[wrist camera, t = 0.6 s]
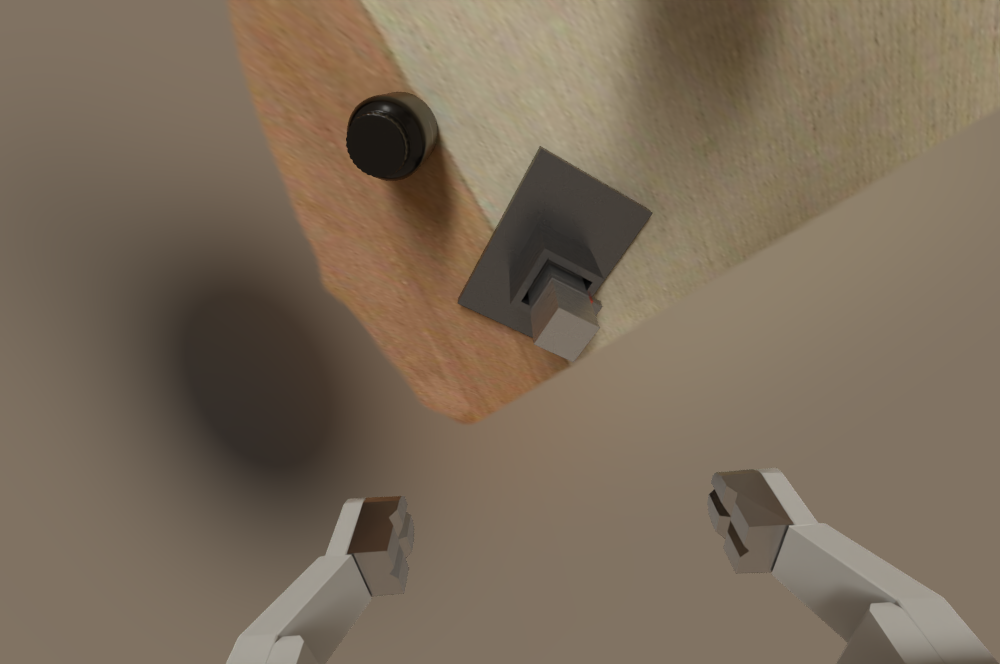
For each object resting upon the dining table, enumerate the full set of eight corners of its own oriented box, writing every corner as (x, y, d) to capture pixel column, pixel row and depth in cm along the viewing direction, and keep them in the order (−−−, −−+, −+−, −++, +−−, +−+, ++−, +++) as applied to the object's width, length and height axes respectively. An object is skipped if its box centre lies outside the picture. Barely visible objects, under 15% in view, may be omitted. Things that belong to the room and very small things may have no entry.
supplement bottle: (451, 142, 45) (436, 166, 35) (397, 175, 47) (368, 207, 37) (413, 75, 42) (384, 80, 32) (357, 113, 44) (313, 129, 34)
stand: (540, 146, 45) (549, 166, 36) (648, 209, 49) (681, 242, 40) (458, 297, 55) (449, 343, 46) (554, 341, 58) (563, 392, 49)
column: (543, 238, 49) (558, 306, 35) (574, 254, 50) (600, 327, 36) (524, 268, 51) (532, 344, 37) (555, 283, 52) (573, 362, 38)
